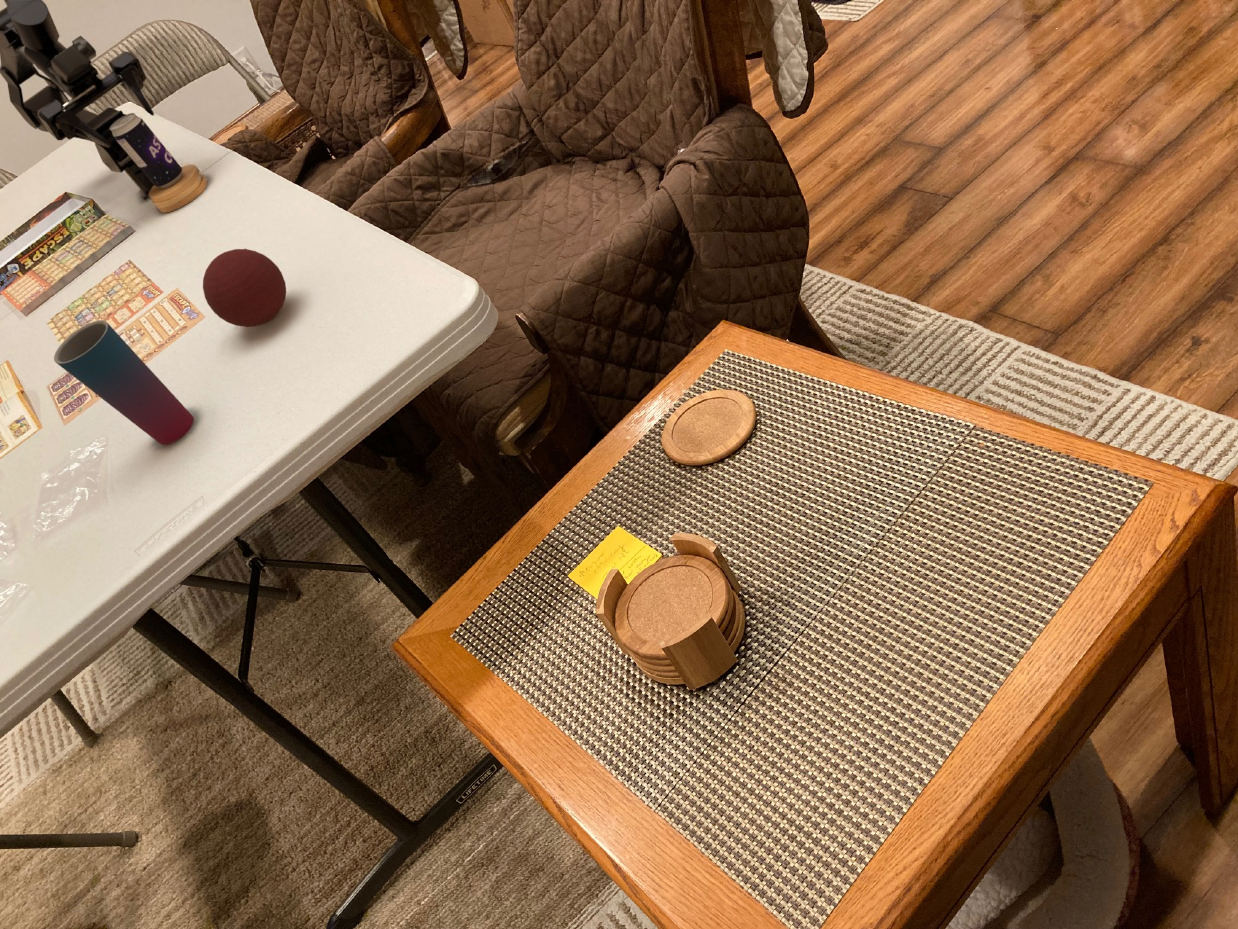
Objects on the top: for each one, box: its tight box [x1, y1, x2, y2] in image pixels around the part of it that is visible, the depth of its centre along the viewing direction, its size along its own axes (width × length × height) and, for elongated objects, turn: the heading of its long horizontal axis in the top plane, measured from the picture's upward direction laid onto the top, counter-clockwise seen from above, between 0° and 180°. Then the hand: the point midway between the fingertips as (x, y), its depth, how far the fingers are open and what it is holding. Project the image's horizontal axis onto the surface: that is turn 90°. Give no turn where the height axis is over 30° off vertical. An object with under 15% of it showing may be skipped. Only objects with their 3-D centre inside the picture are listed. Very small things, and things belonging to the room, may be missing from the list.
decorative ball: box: [202, 248, 287, 328], centre depth 113 cm, size 10×10×10 cm
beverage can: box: [110, 112, 182, 188], centre depth 152 cm, size 6×6×12 cm
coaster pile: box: [149, 164, 208, 214], centre depth 157 cm, size 10×10×3 cm
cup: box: [53, 319, 195, 446], centre depth 101 cm, size 7×7×15 cm
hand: (131, 129), depth 148 cm, fingers open, 9 cm apart
